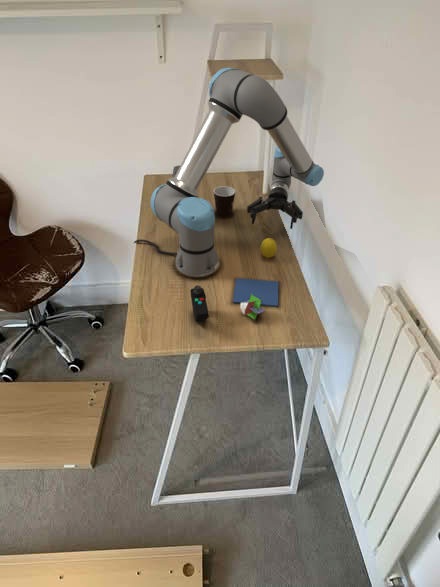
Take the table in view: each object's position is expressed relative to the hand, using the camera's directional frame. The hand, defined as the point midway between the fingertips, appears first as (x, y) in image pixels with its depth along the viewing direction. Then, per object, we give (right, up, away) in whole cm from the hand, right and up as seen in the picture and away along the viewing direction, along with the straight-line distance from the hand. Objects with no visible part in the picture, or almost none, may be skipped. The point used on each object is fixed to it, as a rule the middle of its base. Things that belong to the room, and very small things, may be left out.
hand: (272, 223), depth 153 cm
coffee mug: (-16, +9, +26) cm, 32 cm away
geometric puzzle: (-9, -31, -21) cm, 39 cm away
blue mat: (-7, -24, -13) cm, 29 cm away
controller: (-24, -33, -23) cm, 47 cm away
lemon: (-1, -12, +2) cm, 12 cm away
